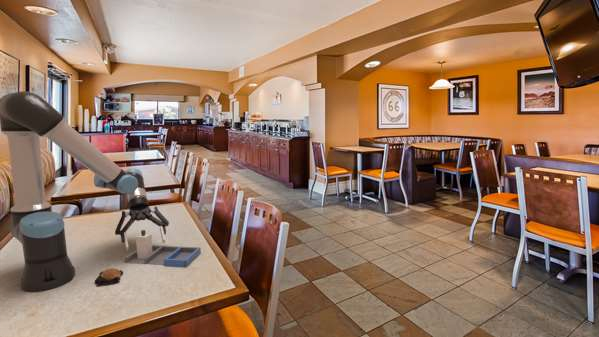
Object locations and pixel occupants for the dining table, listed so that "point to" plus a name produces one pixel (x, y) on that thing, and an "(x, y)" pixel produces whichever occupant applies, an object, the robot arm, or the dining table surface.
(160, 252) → the gray divided tray
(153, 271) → the dining table surface
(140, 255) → the cream block with knob
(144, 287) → the dining table surface
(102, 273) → the bun on dark wrapper
